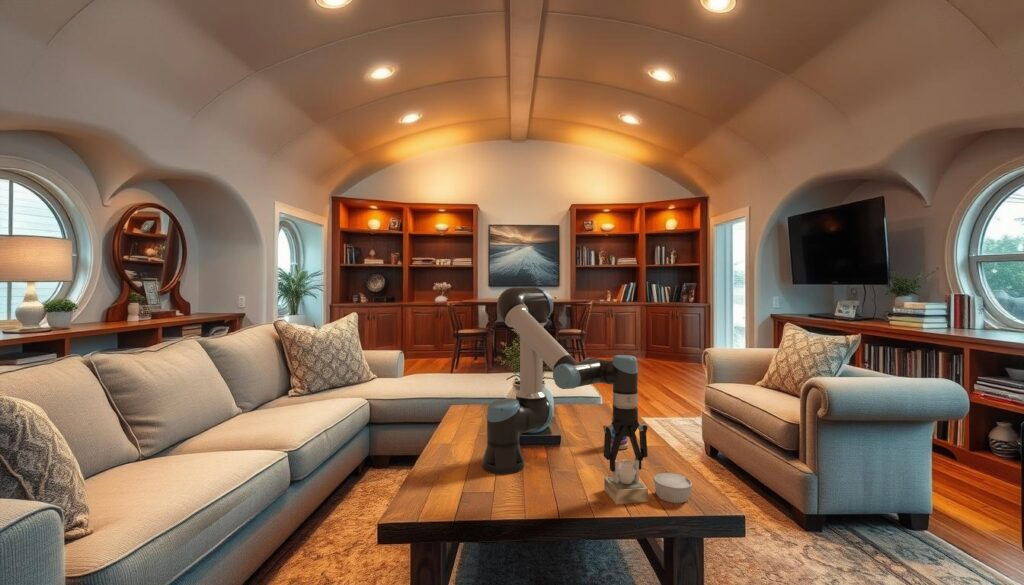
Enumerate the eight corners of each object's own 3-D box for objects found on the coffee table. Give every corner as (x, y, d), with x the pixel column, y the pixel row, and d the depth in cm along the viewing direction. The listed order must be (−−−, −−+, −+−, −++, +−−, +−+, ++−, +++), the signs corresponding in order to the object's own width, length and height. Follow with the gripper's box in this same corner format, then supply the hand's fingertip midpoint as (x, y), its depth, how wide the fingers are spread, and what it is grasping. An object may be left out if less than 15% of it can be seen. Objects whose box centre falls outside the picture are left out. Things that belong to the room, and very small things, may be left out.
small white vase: (622, 476, 147) (622, 454, 147) (640, 481, 143) (639, 459, 143) (611, 482, 143) (611, 459, 143) (629, 487, 139) (629, 464, 139)
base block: (616, 504, 138) (616, 490, 138) (604, 489, 148) (604, 476, 148) (648, 501, 139) (647, 487, 139) (634, 487, 149) (634, 474, 149)
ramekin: (695, 506, 136) (695, 488, 136) (656, 504, 138) (656, 486, 138) (687, 490, 147) (687, 473, 147) (651, 488, 149) (651, 471, 149)
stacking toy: (630, 450, 184) (630, 403, 184) (610, 450, 184) (610, 403, 184) (626, 443, 192) (626, 398, 192) (606, 443, 192) (606, 398, 192)
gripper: (599, 410, 138) (600, 488, 138) (659, 407, 141) (660, 483, 141) (591, 404, 146) (592, 478, 146) (648, 401, 148) (649, 474, 149)
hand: (625, 480), depth 143 cm, fingers closed on small white vase, 6 cm apart
